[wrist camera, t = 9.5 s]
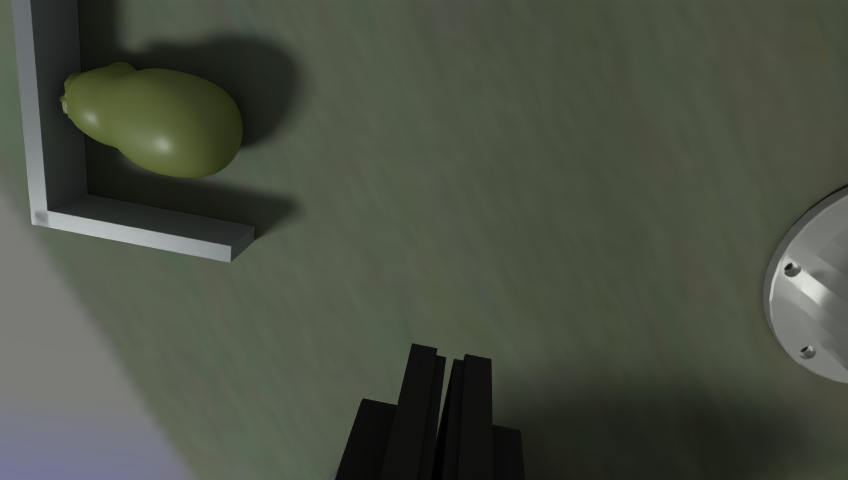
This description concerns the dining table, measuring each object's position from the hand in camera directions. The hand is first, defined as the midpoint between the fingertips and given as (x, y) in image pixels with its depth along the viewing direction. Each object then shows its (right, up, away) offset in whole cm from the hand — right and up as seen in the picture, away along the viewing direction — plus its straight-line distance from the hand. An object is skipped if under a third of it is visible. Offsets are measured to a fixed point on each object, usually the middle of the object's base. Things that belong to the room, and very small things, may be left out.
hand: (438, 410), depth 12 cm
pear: (-15, +11, +22) cm, 28 cm away
